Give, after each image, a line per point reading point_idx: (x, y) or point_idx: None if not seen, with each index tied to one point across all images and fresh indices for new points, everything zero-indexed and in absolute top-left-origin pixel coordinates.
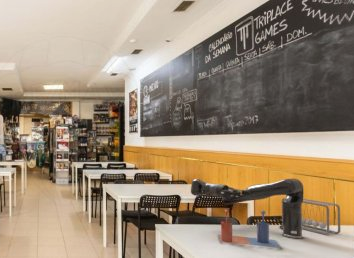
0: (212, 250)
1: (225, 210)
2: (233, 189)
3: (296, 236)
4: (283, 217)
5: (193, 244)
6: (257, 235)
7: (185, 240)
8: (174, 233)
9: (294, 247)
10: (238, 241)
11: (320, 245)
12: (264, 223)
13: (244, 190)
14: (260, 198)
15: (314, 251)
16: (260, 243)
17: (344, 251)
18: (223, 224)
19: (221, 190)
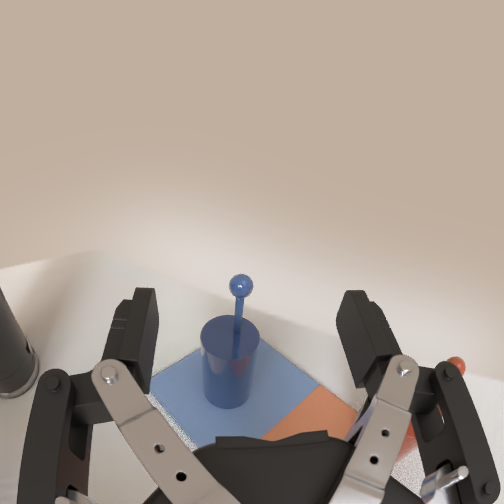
0: (468, 388)
1: (464, 363)
2: (224, 491)
3: (32, 348)
4: None
5: (496, 448)
6: (249, 386)
7: (500, 494)
8: None
9: (170, 320)
10: (330, 431)
11: (76, 293)
12: (231, 328)
13: (53, 371)
14: None
15: (163, 282)
16: (260, 381)
17: (98, 254)
18: None
19: (499, 482)
